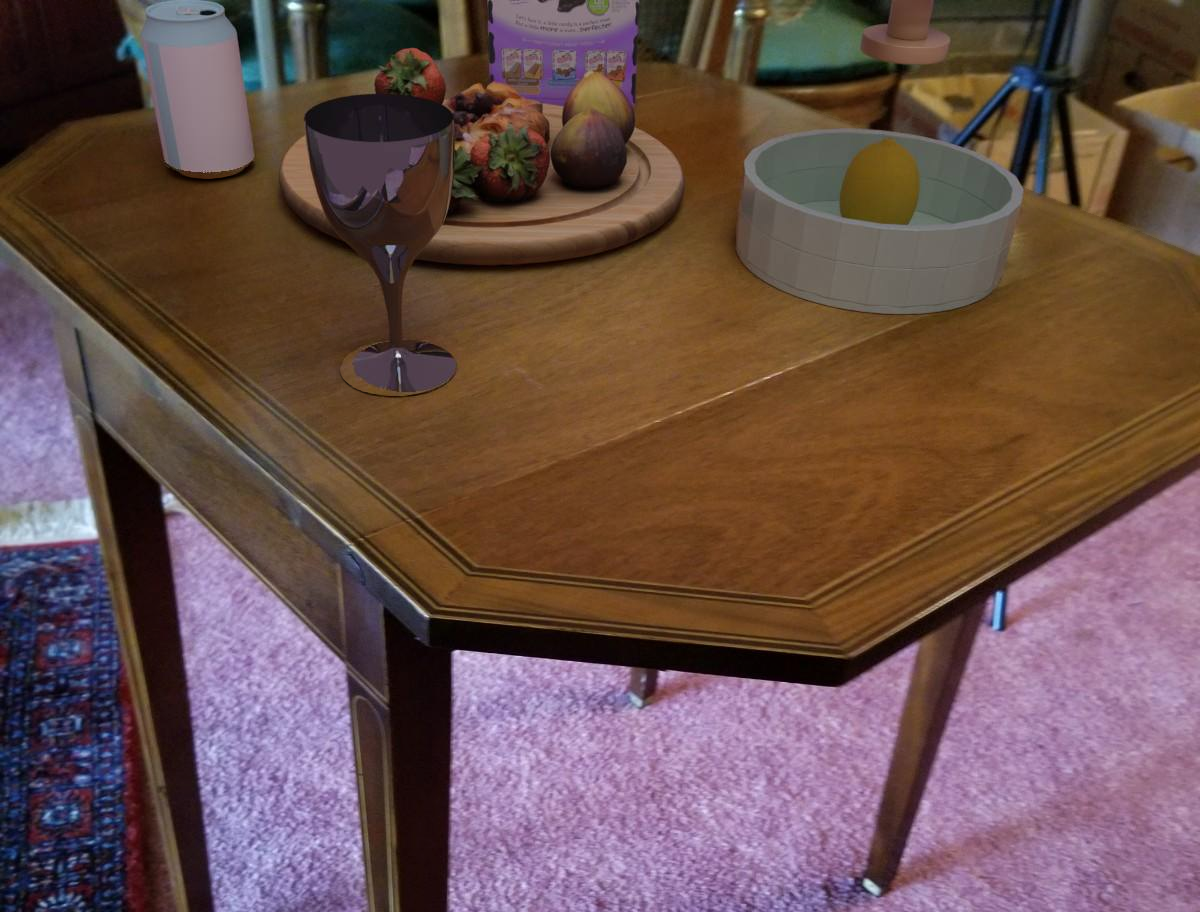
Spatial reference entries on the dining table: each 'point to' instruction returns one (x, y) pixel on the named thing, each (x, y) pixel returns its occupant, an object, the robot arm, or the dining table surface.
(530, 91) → the candy box
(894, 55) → the stirrer
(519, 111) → the wooden plate
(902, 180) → the lemon
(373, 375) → the wine glass
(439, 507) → the dining table surface
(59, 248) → the dining table surface
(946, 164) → the bowl
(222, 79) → the can
